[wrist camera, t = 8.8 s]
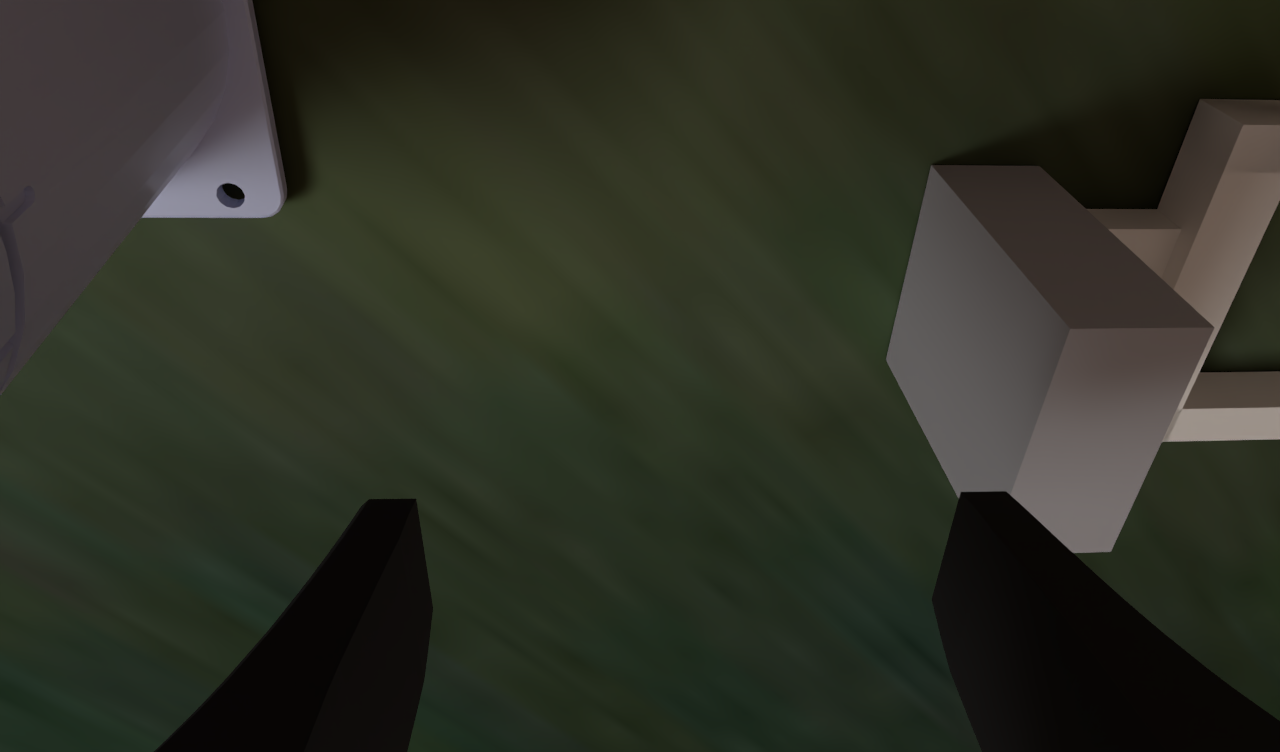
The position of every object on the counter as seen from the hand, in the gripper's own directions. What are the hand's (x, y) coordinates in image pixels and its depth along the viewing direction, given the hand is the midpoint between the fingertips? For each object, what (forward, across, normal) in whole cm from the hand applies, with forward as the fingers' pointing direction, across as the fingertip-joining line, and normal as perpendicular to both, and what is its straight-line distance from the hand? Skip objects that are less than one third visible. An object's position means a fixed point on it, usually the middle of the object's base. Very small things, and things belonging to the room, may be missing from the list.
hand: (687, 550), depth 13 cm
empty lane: (+10, -14, +1) cm, 17 cm away
